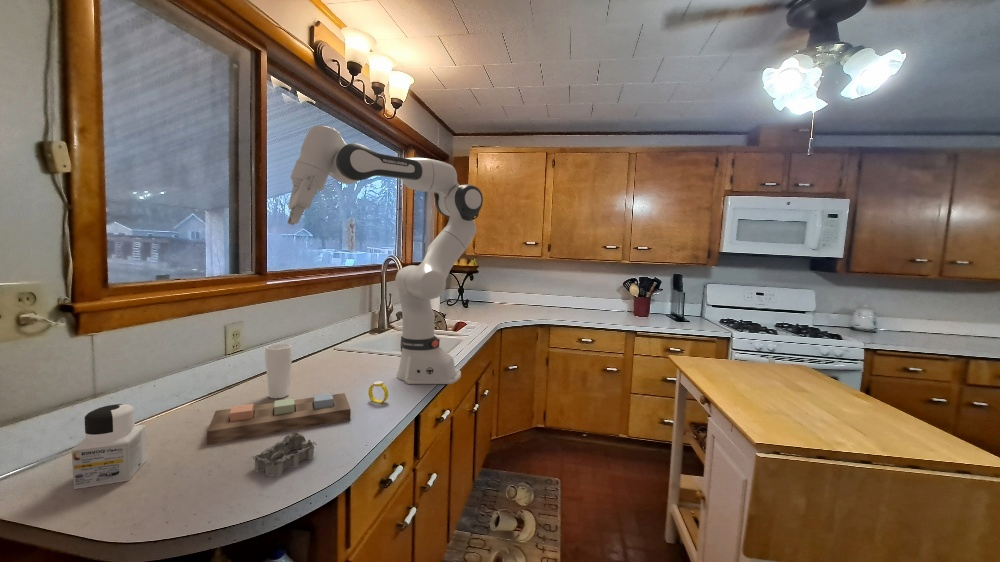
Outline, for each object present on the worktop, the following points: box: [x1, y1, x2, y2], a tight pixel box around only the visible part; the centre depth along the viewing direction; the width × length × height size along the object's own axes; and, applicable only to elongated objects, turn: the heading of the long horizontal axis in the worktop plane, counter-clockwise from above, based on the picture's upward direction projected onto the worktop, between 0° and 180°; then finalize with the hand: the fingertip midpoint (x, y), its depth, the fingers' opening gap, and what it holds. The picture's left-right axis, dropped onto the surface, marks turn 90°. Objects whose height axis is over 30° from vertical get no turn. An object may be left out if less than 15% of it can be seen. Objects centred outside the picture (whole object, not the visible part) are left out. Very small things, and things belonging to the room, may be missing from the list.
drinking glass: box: [264, 343, 293, 399], centre depth 113 cm, size 7×7×15 cm
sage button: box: [274, 398, 295, 415], centre depth 97 cm, size 4×4×3 cm
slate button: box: [313, 392, 333, 409], centre depth 102 cm, size 4×4×3 cm
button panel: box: [206, 392, 352, 445], centre depth 98 cm, size 30×12×3 cm, turn 119°
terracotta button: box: [230, 403, 255, 422], centre depth 93 cm, size 4×4×3 cm
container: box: [71, 403, 148, 490], centre depth 73 cm, size 8×8×13 cm
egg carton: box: [251, 430, 318, 477], centre depth 80 cm, size 11×8×4 cm
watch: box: [367, 380, 389, 404], centre depth 112 cm, size 6×3×6 cm, turn 71°
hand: (292, 223), depth 109 cm, fingers open, 8 cm apart
